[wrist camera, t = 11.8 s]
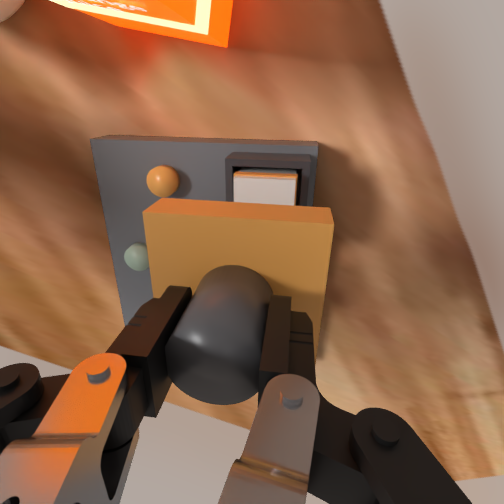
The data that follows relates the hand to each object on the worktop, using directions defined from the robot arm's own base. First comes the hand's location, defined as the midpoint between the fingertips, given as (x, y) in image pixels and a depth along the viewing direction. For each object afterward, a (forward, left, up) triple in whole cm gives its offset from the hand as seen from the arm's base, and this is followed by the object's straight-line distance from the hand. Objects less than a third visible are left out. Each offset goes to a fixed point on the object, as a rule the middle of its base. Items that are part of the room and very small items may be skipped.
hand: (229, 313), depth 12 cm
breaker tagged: (0, 0, -16) cm, 16 cm away
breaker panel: (-6, -7, -19) cm, 21 cm away
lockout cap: (0, 0, -3) cm, 3 cm away
